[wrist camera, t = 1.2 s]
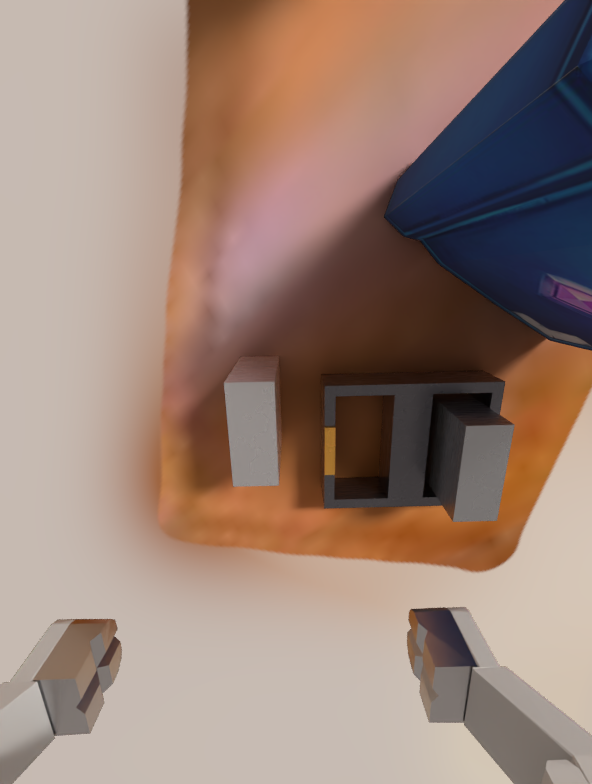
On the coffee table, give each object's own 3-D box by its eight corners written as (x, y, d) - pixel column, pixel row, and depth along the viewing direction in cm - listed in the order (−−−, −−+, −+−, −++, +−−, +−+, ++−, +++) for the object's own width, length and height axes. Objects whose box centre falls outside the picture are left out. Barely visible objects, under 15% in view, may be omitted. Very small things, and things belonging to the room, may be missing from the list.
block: (240, 356, 35) (223, 382, 27) (278, 355, 35) (274, 381, 27) (246, 439, 38) (233, 486, 29) (282, 438, 38) (278, 485, 29)
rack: (321, 374, 36) (330, 405, 27) (482, 370, 36) (542, 400, 27) (321, 488, 40) (329, 546, 31) (465, 484, 40) (513, 541, 31)
